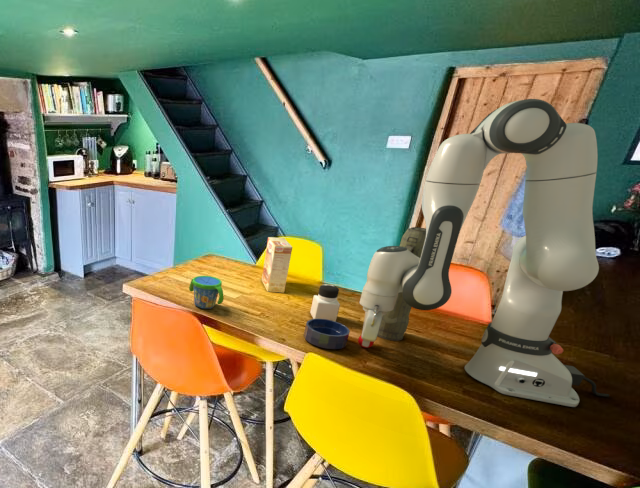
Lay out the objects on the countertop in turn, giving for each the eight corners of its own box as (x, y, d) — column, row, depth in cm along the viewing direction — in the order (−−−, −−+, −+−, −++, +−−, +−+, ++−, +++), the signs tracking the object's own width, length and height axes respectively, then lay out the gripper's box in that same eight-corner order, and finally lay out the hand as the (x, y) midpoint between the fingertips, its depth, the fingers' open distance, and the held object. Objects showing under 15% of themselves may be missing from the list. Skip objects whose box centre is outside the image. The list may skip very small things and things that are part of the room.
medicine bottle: (335, 323, 139) (343, 290, 134) (314, 320, 140) (321, 289, 136) (330, 314, 146) (338, 283, 141) (309, 312, 147) (316, 281, 142)
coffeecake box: (260, 279, 179) (267, 236, 172) (277, 280, 178) (284, 237, 171) (266, 291, 166) (274, 245, 158) (284, 293, 165) (293, 246, 157)
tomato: (372, 346, 124) (375, 333, 123) (371, 351, 121) (375, 339, 119) (357, 342, 126) (360, 330, 125) (356, 347, 123) (359, 335, 121)
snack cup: (229, 310, 147) (232, 284, 143) (206, 316, 142) (209, 289, 138) (202, 296, 159) (205, 272, 155) (180, 300, 155) (182, 275, 151)
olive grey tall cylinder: (366, 335, 131) (397, 229, 117) (377, 324, 139) (407, 223, 125) (397, 345, 125) (434, 234, 111) (407, 333, 133) (442, 228, 119)
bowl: (347, 338, 128) (351, 324, 126) (343, 354, 119) (347, 340, 117) (307, 329, 134) (310, 315, 132) (300, 343, 125) (303, 329, 123)
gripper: (389, 315, 108) (376, 359, 113) (390, 292, 124) (378, 332, 129) (363, 309, 111) (351, 353, 116) (367, 288, 127) (356, 327, 132)
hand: (365, 342), depth 123 cm, fingers closed on tomato, 4 cm apart
